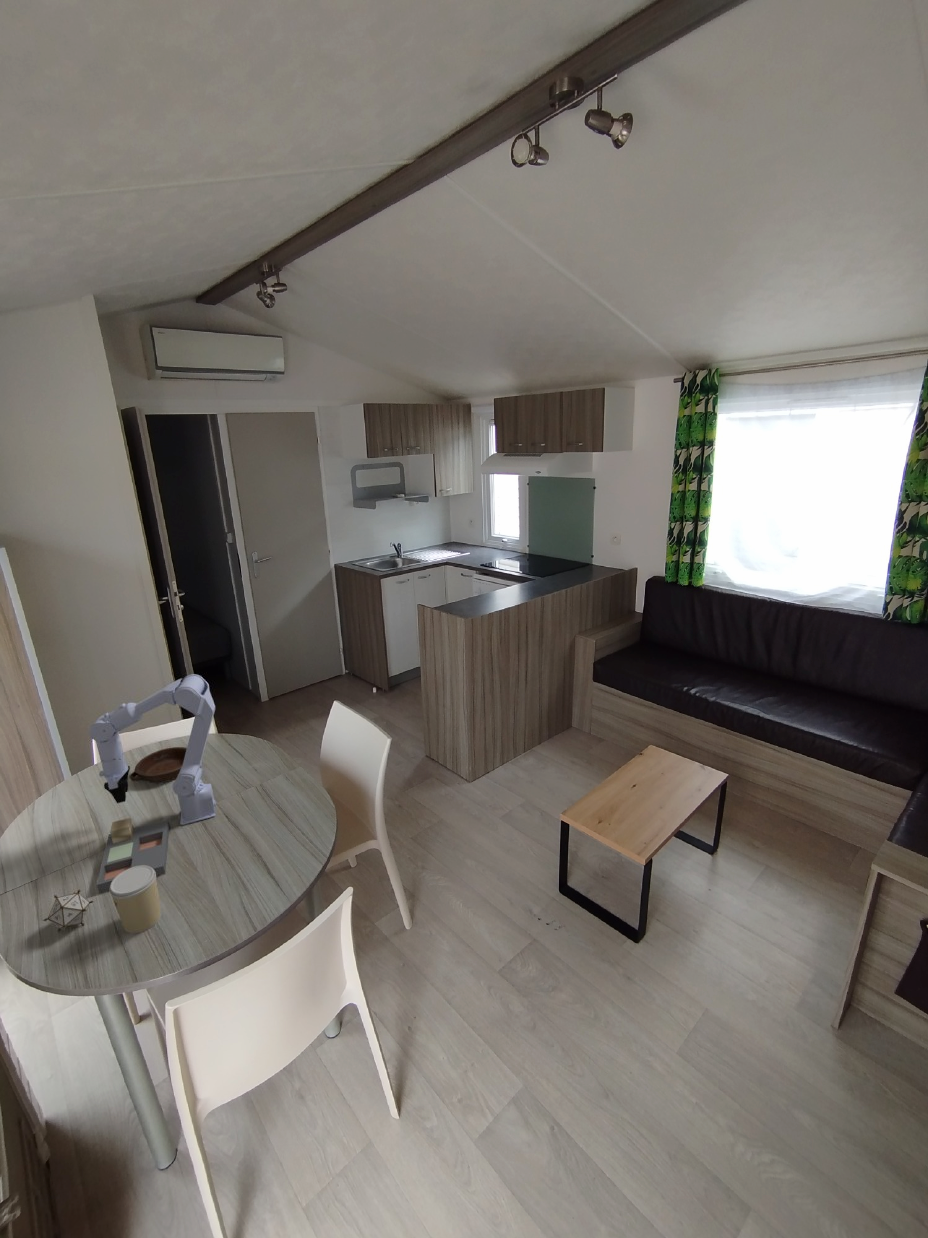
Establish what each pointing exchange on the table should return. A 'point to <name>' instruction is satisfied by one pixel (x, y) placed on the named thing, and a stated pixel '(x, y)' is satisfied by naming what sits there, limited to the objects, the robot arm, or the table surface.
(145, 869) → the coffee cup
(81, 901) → the game die
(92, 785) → the table surface
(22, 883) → the table surface
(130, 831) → the maple block
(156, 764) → the dish
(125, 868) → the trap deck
